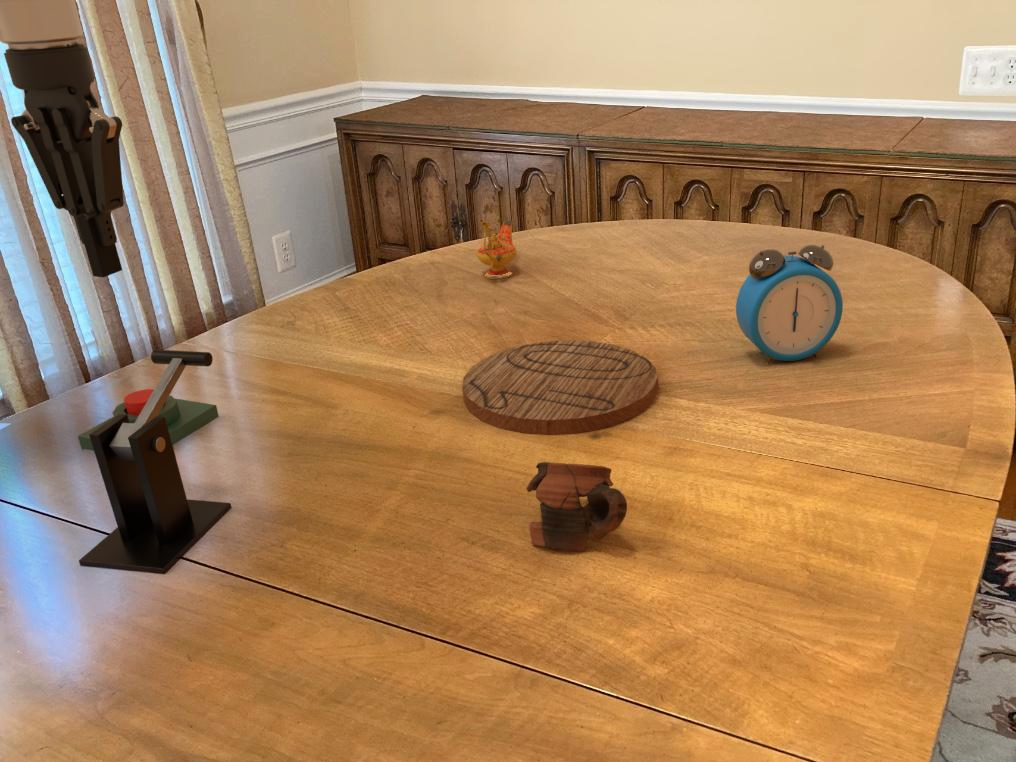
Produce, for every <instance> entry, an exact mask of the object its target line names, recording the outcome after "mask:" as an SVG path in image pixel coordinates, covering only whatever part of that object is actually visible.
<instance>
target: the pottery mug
mask: <svg viewBox="0 0 1016 762" xmlns="http://www.w3.org/2000/svg"><path fill="white" fill-rule="evenodd" d="M535 468H536V469H537V474H535V475H534V477H532V478H531V480H530V481H529V482H528V485H527V486H526V491H527V492H528V493H531V492H532V491H533V492H535V497H536V500H537V501H538V502H540V504H539V505H540V506H539V508H540V517H541V521H531V522H530V523H529V534H530V539H531V545H534V546H537V547H545V548H552V549H555V550H561V551H575V552H583V551H584V552H585V551H586V550H587V541H588V539H589V535H590V534H591V535H592V536H593V538H595V539H597V540H601V539H604V538H605V537H606V536H608V534H609V533H611V532H612V533H613V532H614V531H616V530H617V529H618V528H619V527H620V526H621V525H622V524H623V522H624V520H625V518H626V515H627V512H628V503H627V499H626V497H625V495H624V494H623V493H622V492H621V491H620V490H619V489H617V488H614V487H613V488H612V486H614V483H613V481H612V480H611V474H612V468H609V467H606V466H602V465H595V464H582V463H581V464H580V463H563V462H548V461H543V462H538V463H537V464H536V466H535ZM585 497H586V500H587V504H585V505H583V506H582V504H581V500H580V498H585Z"/></svg>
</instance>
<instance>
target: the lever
mask: <svg viewBox="0 0 1016 762" xmlns="http://www.w3.org/2000/svg"><path fill="white" fill-rule="evenodd" d="M150 359H151V362H152V363H153V364H154V365H167V367H166V369H165V370H164V372H163V374H162V376H161V377H160V378H159V381H158V382H157V384H156V386H155V388H154V391H153V393H152V394H151V396H150V398H149V399H148V401H147V403H146V404H145V406H144V408H143V409H142V411H141V413H140V415H139V416H138V418H137V420H136V421H135V423H122V425H121V427H120V428H119V430H118V432H117V433H116V435H115V437H114V438H113V440H112V442H111V443H110V445H109V446H110V447H111V448H112V450H113V451H114V452H115V453H116V455H117V456H118V457H119V458H120V460H121V461H127V462H135V461H134V457H133V454H132V450H131V447H130V443H129V440H128V437H129V436H130V435H132V434H133V433H134V432H136V431H137V430H138V429H140V428H141V427H142V426H144V425H145V424H146V423H148V422H149V421H151V420H152V419H153V418H155V417H157V416H158V414H159V412H160V410H161V409H162V407H163V405H164V403H165V402H166V400H167V398H168V397H169V395H170V396H171V393H172V391H173V390H174V389H175V386H176V384H177V382H178V381H179V379H180V377H181V376H182V374H183V372H184V370H185V368H186V367H187V366H190V367H191V366H193V367H211V366H212V364H213V360H214V359H213V355H212V353H211V352H209V351H194V350H193V351H192V350H176V349H175V350H173V349H153V350H152V351H151V354H150Z"/></svg>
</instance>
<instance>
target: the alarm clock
mask: <svg viewBox="0 0 1016 762" xmlns="http://www.w3.org/2000/svg"><path fill="white" fill-rule="evenodd" d="M797 255H798V256H797ZM833 267H834V258H833V255H832V254H831V253H830V252H829V251H828V250H827V249H826V248H825V245H824V244H821V245H818V244H806V245H805V246H803V247H801V248H800V249H799V250H798V252H797V251H796V250H795V251H788V255H784V254H783V253H782V252H781V251H780V250H778V249H775V248H766V249H763V250H760V251H758V252H757V253H756V254H755V255H753V257H752V258H751V260H750V261H749V264H748V272H749V274H748V275H747V277H746V278H745V280H744V281H743V283H742V285H741V286H740V289H739V291H738V294H737V298H736V303H735V315H736V320H737V323H738V326H739V328H740V330H741V332H742V333H743V334H744V336H745V337H746V338H747V339H748V340H749V341H750V342H751V343H752V344H753V345H754V346H755V347H756V348H757V349H758V350H759V351H760V352H761V353H763V355H765V356H767V357H768V359H767V361H766V364H771V362H772V361H773V360H776V361H780V362H795V361H800V360H804V359H807V358H809V357H811V356H813V358H815V359H816V358H817V353H818V352H819V351H820V350H822V349H823V348H824V347H825V346H826V345H827V344H828V343H829V342H830V341H831V339H832V338H833V337H834V335H835V334H836V332H837V330H838V328H839V327H840V323H841V321H842V316H843V309H844V308H843V307H844V305H843V296H842V292H841V290H840V287H839V286H838V284H837V282H836V281H835V280H834V278H833V277H832V276H831V275H830V274H829V273H827V272H826V271H829V272H831V271H832V270H833ZM823 269H824V270H826V271H824V270H823Z"/></svg>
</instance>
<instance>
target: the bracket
mask: <svg viewBox="0 0 1016 762" xmlns="http://www.w3.org/2000/svg"><path fill="white" fill-rule="evenodd" d="M113 417H114V416H113ZM111 418H112V417H111ZM122 423H130V422H129V418H128V415H125V414H118V415H116V416H115V417H114V418H112V419H111V420H109V421H108V422H106V423H105V424H104V425H102V426H101V427H99V428H98V429H96V430H95V431H94V432H92V433H91V434H89V436H90V439H91V443H92V446H93V449H94V450H93V452H94V455H95V459H96V462H97V465H98V468H99V471H100V474H101V478H102V480H103V484H104V488H105V490H106V495H107V497H108V501H109V503H110V507H111V510H112V513H113V517H114V519H115V522H116V526H117V527H115V529H114V530H112V531H111V532H110V533H109V534H108V535H106V537H104V538H103V539H102V540H100V542H98V543H97V544H96V545H95V546H94V547H93V548H91V549H90V550H89V551H88V552H87V553H86V554H84V555H83V556H82V557H81V558H80V559H79V560H78V563H79V565H80V567H89V568H98V569H109V570H119V571H130V572H141V573H149V574H161V575H165V574H167V573H168V572H169V571H170V570H171V569H172V567H174V566H175V565H176V564H177V563H178V562H179V561H180V560H181V559H182V558H183V557H184V556H185V555H186V554H187V553H188V552H189V551H190V550H191V549H192V548H193V547H194V546H195V545H196V544H197V543H198V542H199V541H200V540H202V538H203V537H204V536H205V535H206V534H207V533H208V532H209V531H210V530H211V529H213V527H214V526H215V525H216V524H217V523H218V522H220V520H221V519H223V517H224V516H225V515H227V513H228V512H229V511H230V510H231V509H232V503H231V502H224V501H212V500H202V499H201V500H198V499H189V498H187V494H186V490H185V486H184V482H183V479H182V476H181V475H182V474H181V472H180V468H179V464H178V460H177V456H176V453H175V450H174V445H172V442H171V438H170V434H169V431H168V427H167V423H166V419H165V417H155V418H153V419H152V420H151V421H149V422H148V423H146V424H145V425H144V426H142V427H141V428H140V429H138V430H137V431H136V432H134V433H133V434H132V435H130V436H129V437H128V440H129V443H130V447H131V450H132V454H133V457H134V461H135V462H127V461H121V460H120V458H119V457H118V456H117V455H116V453H115V452H114V451H113V450H112V448H111V447H110V446H109V445H110V443H111V442H112V440H113V438H114V437H115V435H116V433H117V432H118V430H119V428H120V427H121V425H122Z"/></svg>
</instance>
